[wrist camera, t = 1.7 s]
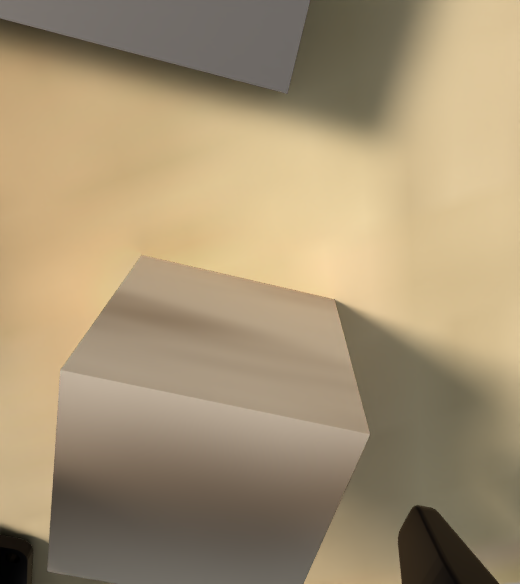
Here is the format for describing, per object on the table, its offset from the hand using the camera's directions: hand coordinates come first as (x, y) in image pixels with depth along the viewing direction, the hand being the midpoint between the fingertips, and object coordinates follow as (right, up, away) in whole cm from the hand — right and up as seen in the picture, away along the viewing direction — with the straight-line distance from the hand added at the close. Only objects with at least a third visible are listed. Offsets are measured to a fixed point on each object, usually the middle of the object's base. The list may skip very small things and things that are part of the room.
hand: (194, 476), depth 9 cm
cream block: (0, +2, +4) cm, 4 cm away
